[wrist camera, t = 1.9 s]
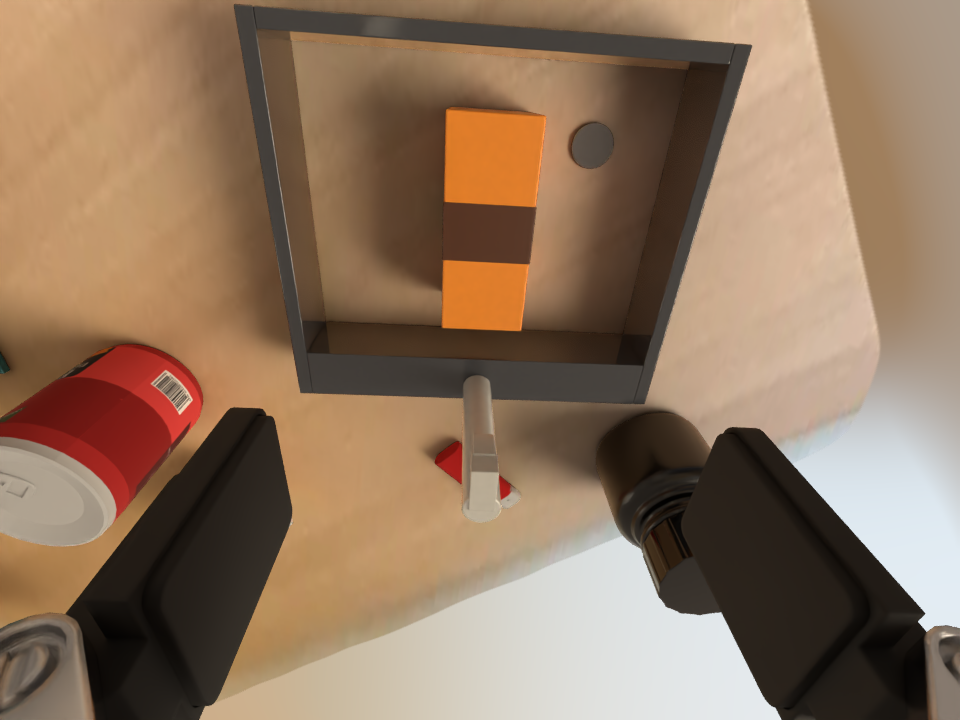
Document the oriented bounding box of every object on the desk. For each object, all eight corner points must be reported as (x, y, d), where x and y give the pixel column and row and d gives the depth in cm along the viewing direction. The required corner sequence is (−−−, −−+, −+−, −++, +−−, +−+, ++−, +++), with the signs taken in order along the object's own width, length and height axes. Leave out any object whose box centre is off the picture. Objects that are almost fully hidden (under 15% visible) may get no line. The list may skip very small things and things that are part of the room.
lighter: (459, 448, 36) (522, 500, 39) (460, 438, 37) (521, 489, 40) (434, 466, 37) (497, 515, 40) (435, 456, 38) (496, 504, 41)
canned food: (97, 322, 31) (-67, 423, 21) (217, 368, 33) (117, 478, 23) (86, 403, 34) (-59, 522, 25) (196, 440, 36) (101, 562, 27)
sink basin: (272, 19, 23) (32, -78, 10) (706, 53, 24) (975, 4, 11) (319, 358, 33) (228, 522, 20) (624, 369, 34) (718, 530, 21)
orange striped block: (448, 106, 25) (444, 108, 20) (532, 112, 25) (547, 115, 20) (444, 292, 30) (441, 328, 26) (513, 296, 31) (521, 332, 26)
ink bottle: (609, 503, 41) (657, 639, 31) (573, 437, 37) (615, 569, 27) (714, 464, 39) (804, 596, 29) (689, 390, 35) (783, 514, 25)
